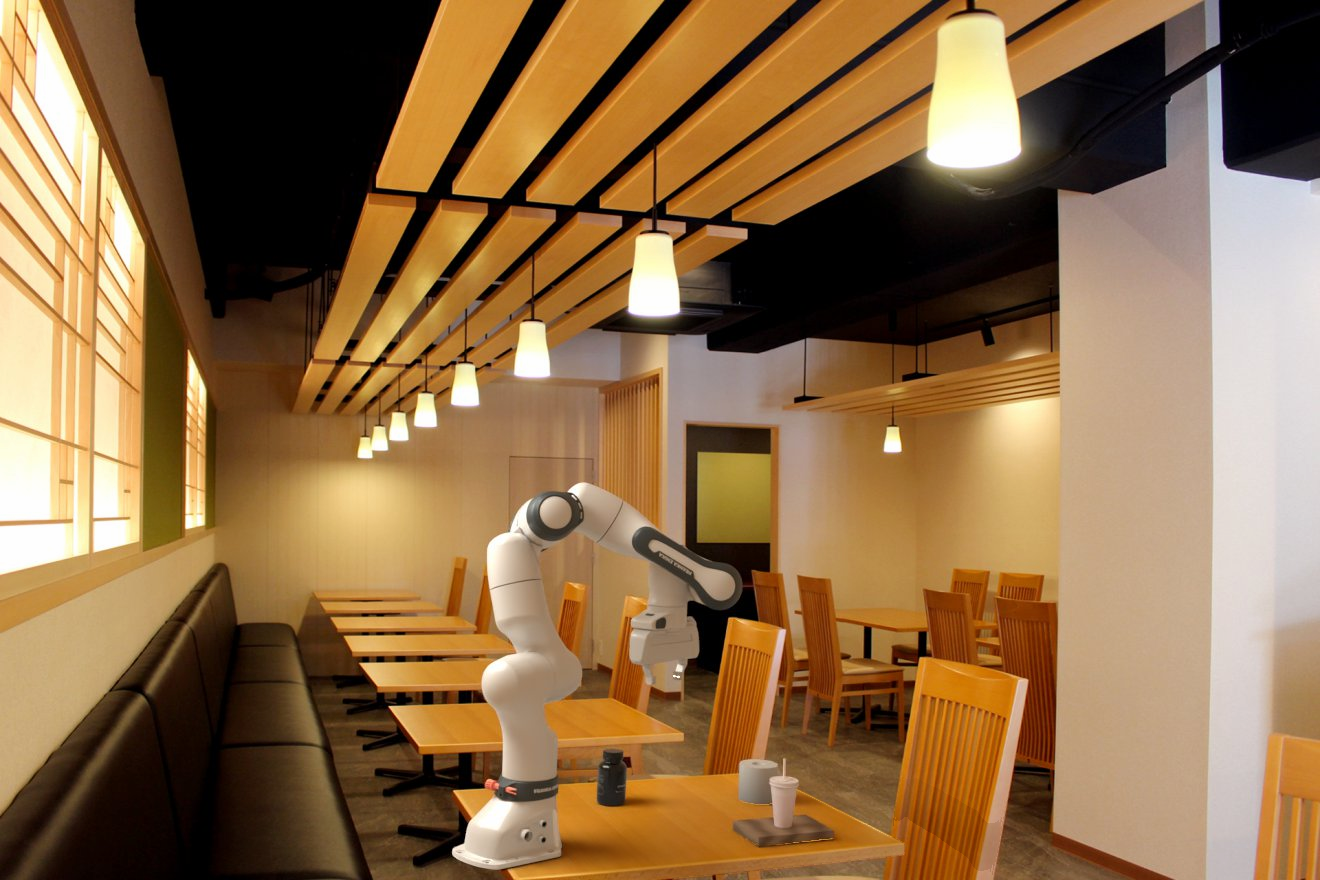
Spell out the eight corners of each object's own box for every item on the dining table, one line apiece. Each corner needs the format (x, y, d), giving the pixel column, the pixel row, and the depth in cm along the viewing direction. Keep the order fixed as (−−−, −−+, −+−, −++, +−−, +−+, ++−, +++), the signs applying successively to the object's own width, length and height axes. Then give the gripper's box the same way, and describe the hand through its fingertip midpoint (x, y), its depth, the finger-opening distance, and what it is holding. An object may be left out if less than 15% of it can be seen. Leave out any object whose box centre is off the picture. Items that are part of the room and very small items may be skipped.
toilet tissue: (795, 798, 256) (796, 762, 256) (758, 807, 247) (759, 770, 248) (767, 790, 263) (768, 755, 263) (730, 799, 254) (731, 762, 254)
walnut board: (758, 847, 218) (758, 837, 218) (732, 830, 229) (733, 820, 229) (833, 839, 224) (834, 830, 224) (805, 823, 235) (805, 814, 235)
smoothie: (797, 822, 230) (799, 756, 230) (798, 830, 223) (800, 763, 224) (767, 820, 230) (769, 754, 231) (768, 828, 224) (769, 761, 225)
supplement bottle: (624, 807, 243) (626, 754, 244) (595, 806, 243) (597, 753, 244) (626, 799, 250) (628, 747, 251) (597, 798, 250) (599, 746, 251)
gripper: (685, 614, 242) (683, 675, 241) (625, 619, 227) (623, 684, 226) (706, 617, 238) (704, 679, 237) (647, 622, 223) (645, 688, 222)
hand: (664, 682), depth 231 cm, fingers open, 8 cm apart
